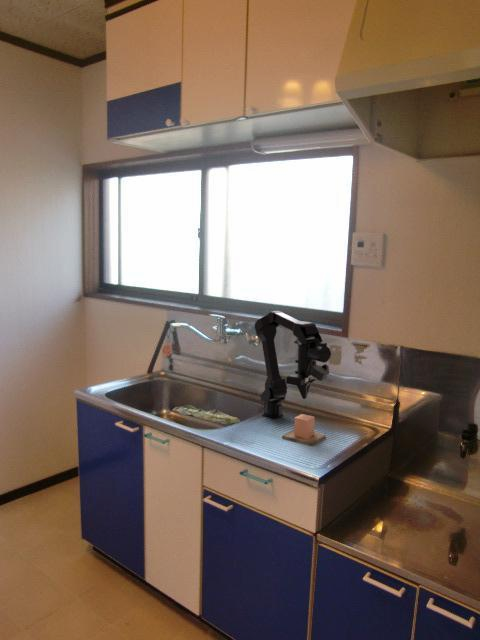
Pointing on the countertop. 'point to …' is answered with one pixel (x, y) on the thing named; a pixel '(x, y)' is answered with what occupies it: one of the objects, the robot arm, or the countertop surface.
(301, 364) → the robot arm
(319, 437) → the stand
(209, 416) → the stone wall
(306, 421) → the salmon orange block
